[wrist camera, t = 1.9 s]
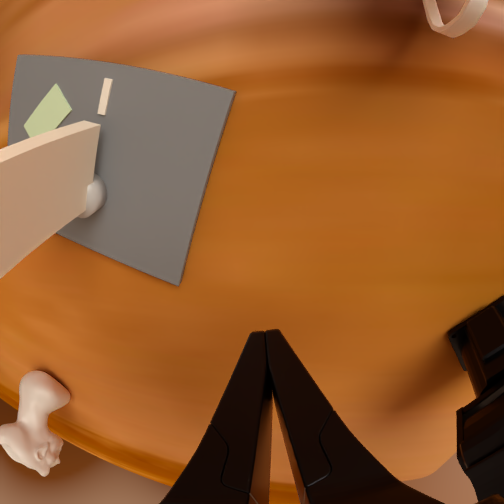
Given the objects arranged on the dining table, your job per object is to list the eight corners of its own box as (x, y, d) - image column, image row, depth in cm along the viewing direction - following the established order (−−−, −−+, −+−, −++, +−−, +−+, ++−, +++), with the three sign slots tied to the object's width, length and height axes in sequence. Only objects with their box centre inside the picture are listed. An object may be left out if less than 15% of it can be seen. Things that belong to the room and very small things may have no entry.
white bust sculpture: (46, 355, 34) (-9, 437, 21) (103, 408, 38) (62, 489, 25) (26, 364, 38) (-20, 431, 25) (75, 410, 42) (38, 478, 29)
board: (236, 91, 16) (233, 91, 16) (181, 281, 23) (177, 287, 23) (23, 54, 16) (16, 55, 15) (13, 207, 23) (7, 210, 22)
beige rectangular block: (118, 124, 17) (-6, 173, 9) (105, 214, 21) (11, 296, 12) (85, 116, 17) (-37, 159, 9) (75, 202, 21) (-20, 275, 12)
